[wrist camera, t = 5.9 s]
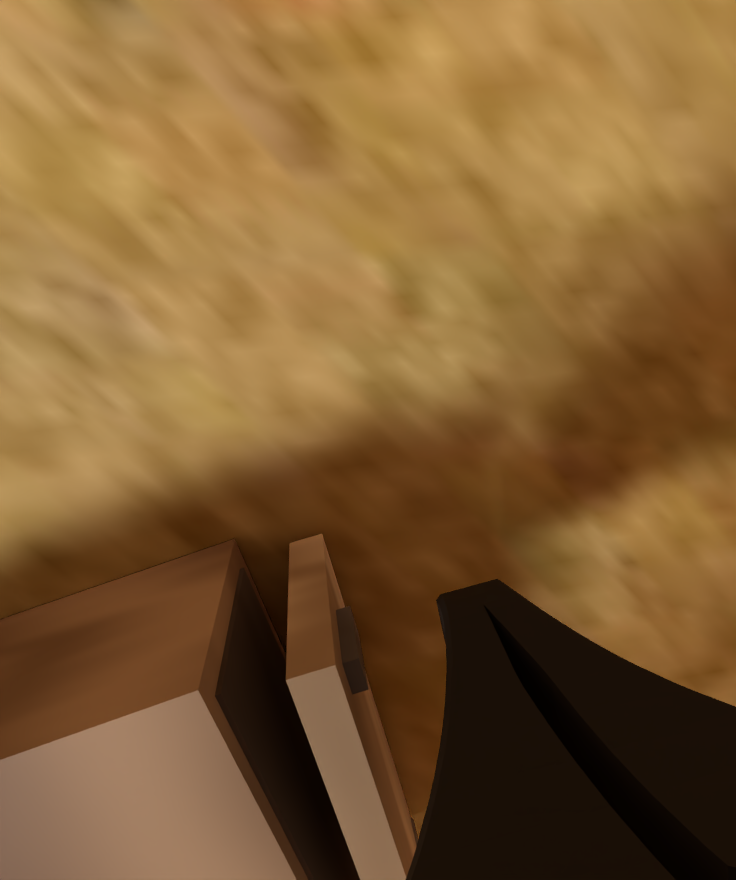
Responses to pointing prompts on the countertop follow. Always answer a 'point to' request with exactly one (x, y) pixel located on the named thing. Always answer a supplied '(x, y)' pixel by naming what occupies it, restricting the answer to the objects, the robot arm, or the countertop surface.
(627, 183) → the countertop surface
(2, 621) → the cabinet
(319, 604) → the door
